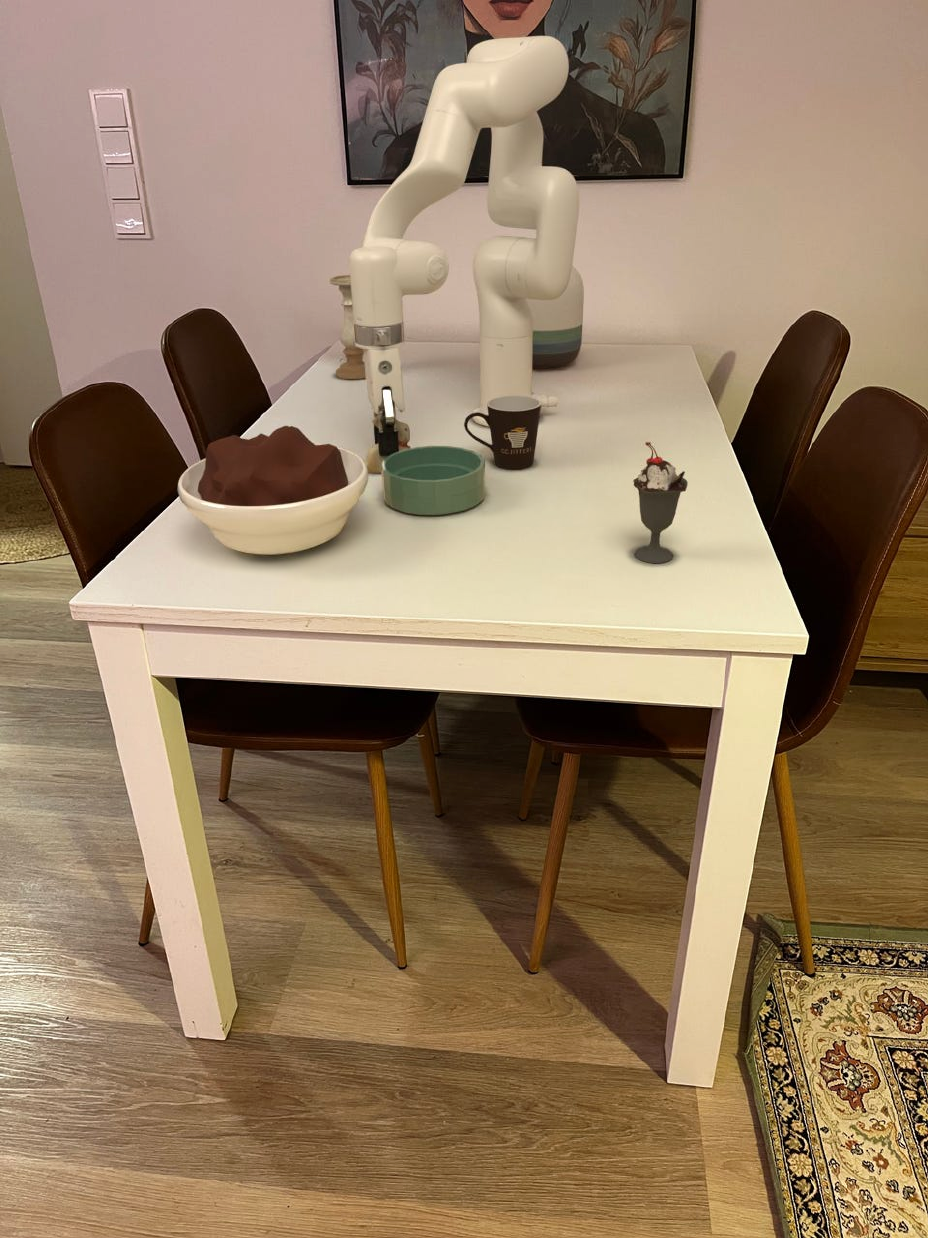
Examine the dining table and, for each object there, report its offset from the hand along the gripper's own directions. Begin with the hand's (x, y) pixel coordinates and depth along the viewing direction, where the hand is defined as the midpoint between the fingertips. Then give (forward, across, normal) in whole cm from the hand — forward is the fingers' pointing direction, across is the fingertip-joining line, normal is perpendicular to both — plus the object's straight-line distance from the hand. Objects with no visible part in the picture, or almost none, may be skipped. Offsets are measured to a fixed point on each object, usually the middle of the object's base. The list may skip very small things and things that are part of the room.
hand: (386, 448), depth 147 cm
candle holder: (+3, +60, -1) cm, 60 cm away
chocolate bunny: (+3, 0, 0) cm, 3 cm away
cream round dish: (+3, -24, +18) cm, 30 cm away
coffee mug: (+3, -3, -19) cm, 20 cm away
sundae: (+3, -42, -29) cm, 51 cm away
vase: (+3, +57, -43) cm, 71 cm away
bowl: (+3, -15, -5) cm, 16 cm away
